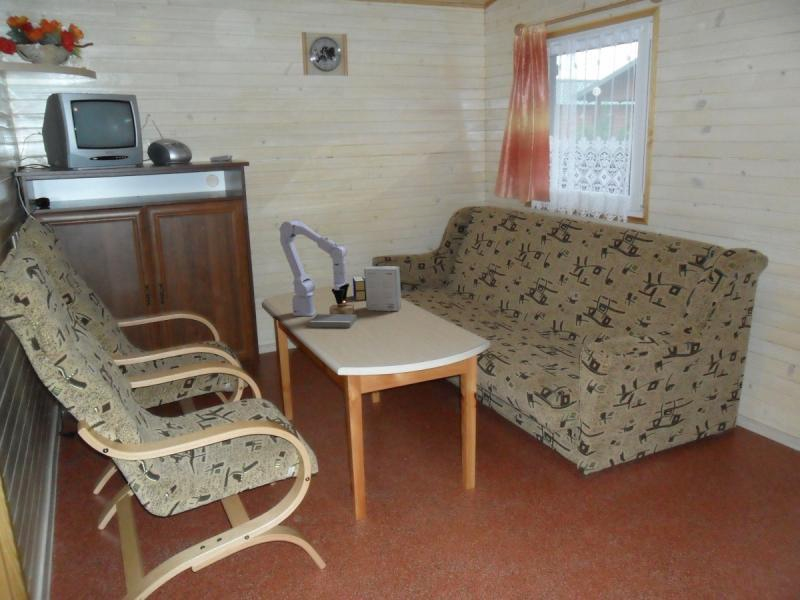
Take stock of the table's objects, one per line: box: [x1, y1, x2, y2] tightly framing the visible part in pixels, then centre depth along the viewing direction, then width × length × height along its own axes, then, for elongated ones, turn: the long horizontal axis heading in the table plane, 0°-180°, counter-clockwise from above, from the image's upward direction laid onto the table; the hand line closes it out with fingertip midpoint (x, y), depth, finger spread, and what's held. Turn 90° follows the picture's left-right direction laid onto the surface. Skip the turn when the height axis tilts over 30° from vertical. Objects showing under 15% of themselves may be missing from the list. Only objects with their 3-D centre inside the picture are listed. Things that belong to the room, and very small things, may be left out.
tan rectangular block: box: [329, 303, 355, 315], centre depth 295 cm, size 10×6×5 cm, turn 81°
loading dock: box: [309, 313, 357, 329], centre depth 284 cm, size 18×12×3 cm, turn 81°
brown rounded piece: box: [336, 299, 347, 307], centre depth 295 cm, size 4×4×2 cm
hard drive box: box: [363, 265, 402, 312], centre depth 303 cm, size 16×8×20 cm, turn 74°
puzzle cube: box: [352, 275, 366, 301], centre depth 327 cm, size 10×10×10 cm
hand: (341, 301), depth 294 cm, fingers open, 7 cm apart
